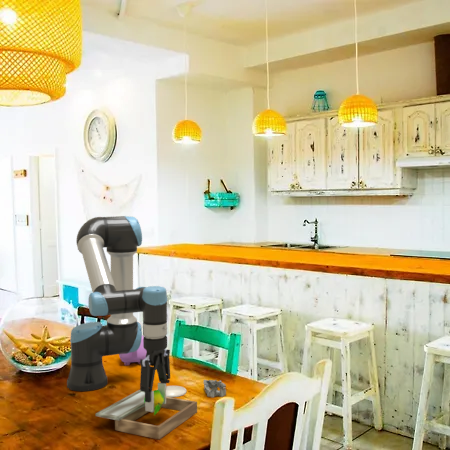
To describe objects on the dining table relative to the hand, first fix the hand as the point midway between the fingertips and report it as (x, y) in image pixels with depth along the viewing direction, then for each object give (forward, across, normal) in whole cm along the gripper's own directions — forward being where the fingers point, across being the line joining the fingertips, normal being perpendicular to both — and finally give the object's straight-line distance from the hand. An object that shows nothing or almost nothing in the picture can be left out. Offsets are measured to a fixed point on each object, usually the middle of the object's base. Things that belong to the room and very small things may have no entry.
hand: (156, 406), depth 175 cm
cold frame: (+5, 0, +3) cm, 5 cm away
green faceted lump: (+1, 0, 0) cm, 1 cm away
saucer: (+5, +24, +9) cm, 27 cm away
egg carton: (+5, +31, -5) cm, 32 cm away
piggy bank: (+7, +52, +45) cm, 69 cm away
